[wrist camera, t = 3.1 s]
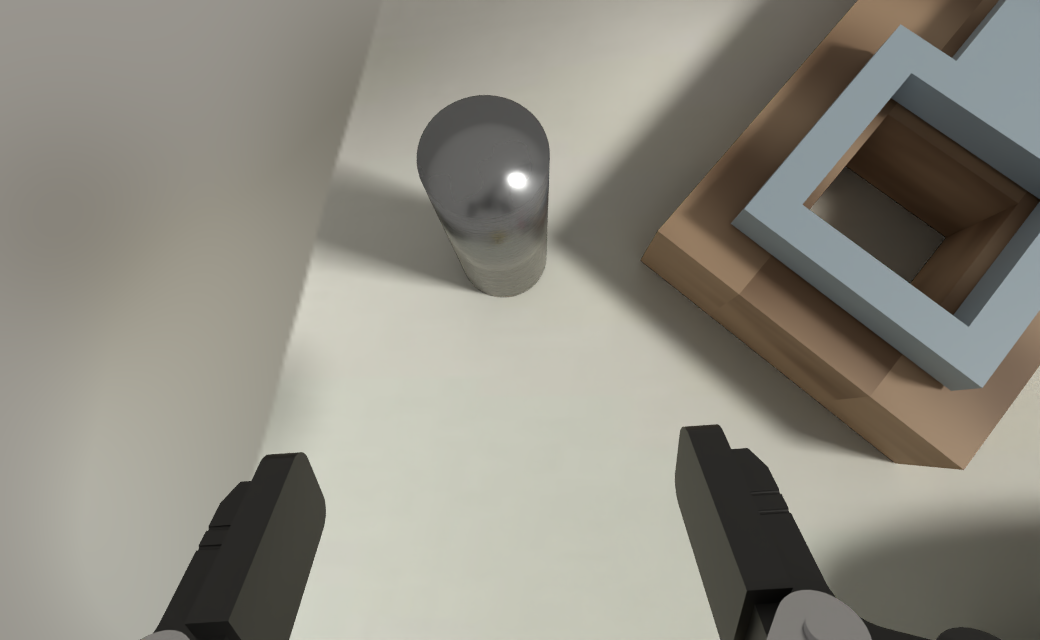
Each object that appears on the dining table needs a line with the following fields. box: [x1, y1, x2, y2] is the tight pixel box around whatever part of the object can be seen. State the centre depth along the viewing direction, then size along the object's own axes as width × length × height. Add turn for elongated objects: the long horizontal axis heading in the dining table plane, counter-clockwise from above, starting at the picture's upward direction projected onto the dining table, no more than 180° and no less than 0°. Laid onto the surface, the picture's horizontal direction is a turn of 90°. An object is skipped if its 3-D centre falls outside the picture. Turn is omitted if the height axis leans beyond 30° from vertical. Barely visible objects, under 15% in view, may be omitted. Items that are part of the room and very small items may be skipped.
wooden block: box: [641, 0, 1040, 470], centre depth 25 cm, size 21×14×4 cm, turn 139°
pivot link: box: [731, 0, 1040, 391], centre depth 22 cm, size 19×10×2 cm, turn 139°
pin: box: [417, 95, 550, 297], centre depth 22 cm, size 4×4×10 cm
